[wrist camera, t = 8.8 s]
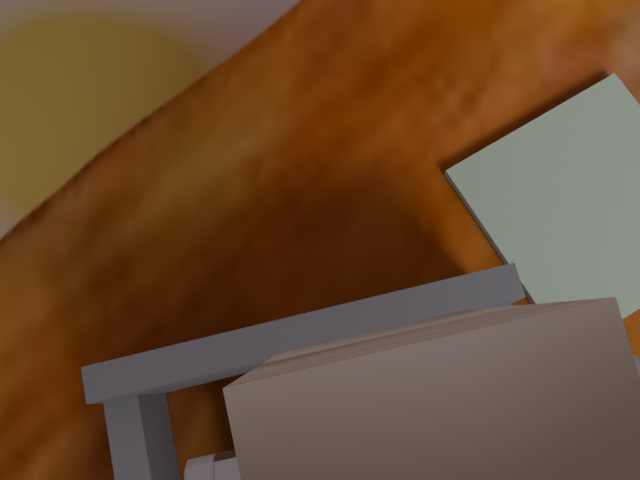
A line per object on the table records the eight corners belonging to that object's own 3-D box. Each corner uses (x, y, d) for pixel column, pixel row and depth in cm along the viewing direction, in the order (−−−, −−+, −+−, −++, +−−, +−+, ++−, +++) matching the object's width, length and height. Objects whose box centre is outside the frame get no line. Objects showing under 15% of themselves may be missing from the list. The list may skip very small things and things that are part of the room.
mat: (738, 243, 34) (745, 241, 34) (564, 353, 33) (569, 353, 32) (610, 77, 37) (614, 73, 36) (443, 173, 35) (445, 170, 35)
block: (514, 489, 15) (728, 681, 7) (316, 536, 15) (302, 786, 7) (467, 310, 15) (616, 296, 8) (277, 354, 15) (222, 388, 7)
